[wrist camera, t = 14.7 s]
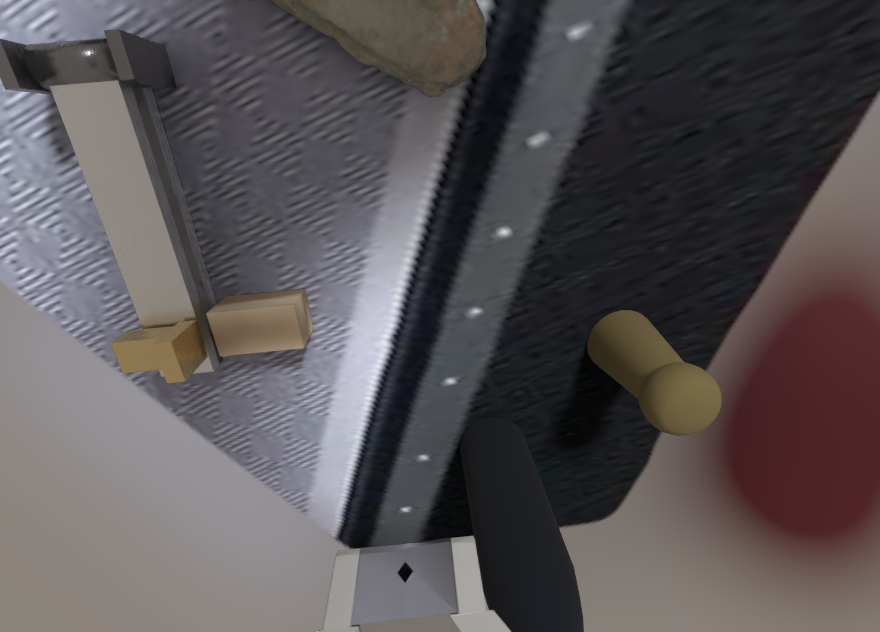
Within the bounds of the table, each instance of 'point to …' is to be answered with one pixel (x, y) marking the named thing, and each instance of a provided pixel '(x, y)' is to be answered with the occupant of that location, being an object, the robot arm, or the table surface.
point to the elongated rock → (403, 36)
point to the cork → (654, 373)
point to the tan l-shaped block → (162, 350)
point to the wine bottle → (517, 533)
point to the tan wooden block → (261, 322)
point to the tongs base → (148, 72)
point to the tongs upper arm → (122, 181)
